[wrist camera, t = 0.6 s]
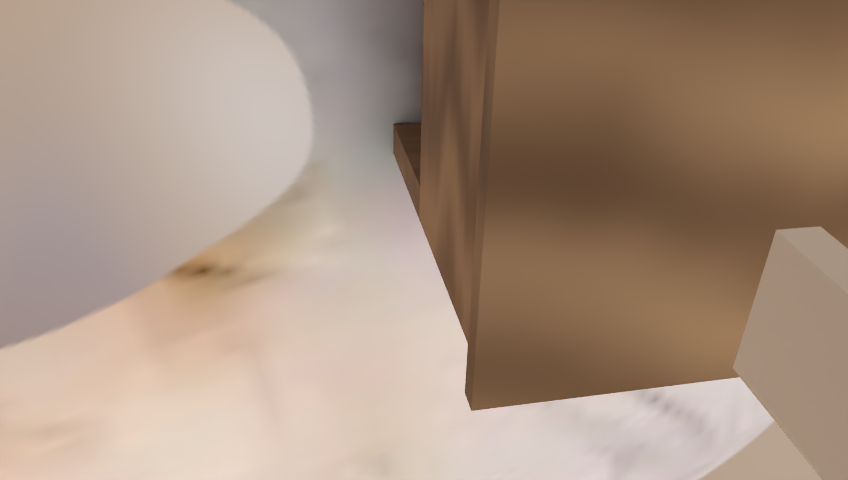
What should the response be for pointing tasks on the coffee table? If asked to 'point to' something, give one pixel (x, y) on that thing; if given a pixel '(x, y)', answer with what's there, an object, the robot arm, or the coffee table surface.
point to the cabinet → (620, 179)
